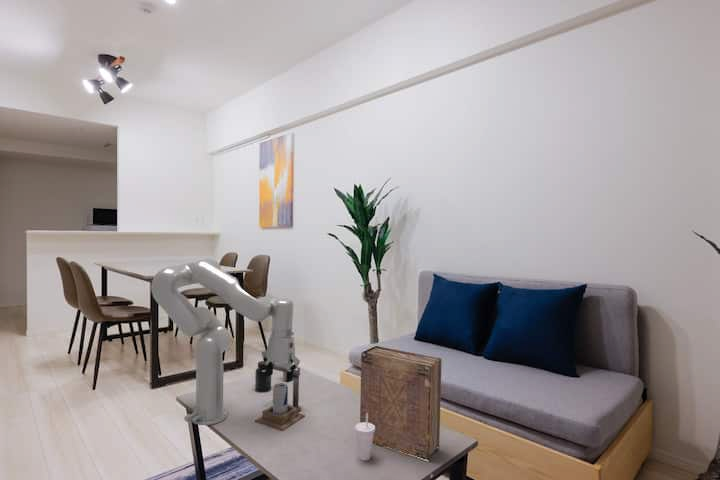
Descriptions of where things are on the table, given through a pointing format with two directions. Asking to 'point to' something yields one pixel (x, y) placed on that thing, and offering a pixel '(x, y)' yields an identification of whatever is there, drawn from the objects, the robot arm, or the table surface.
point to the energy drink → (280, 398)
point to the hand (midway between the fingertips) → (279, 378)
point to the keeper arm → (284, 369)
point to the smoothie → (364, 439)
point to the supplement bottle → (262, 378)
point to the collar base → (288, 418)
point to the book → (402, 399)
